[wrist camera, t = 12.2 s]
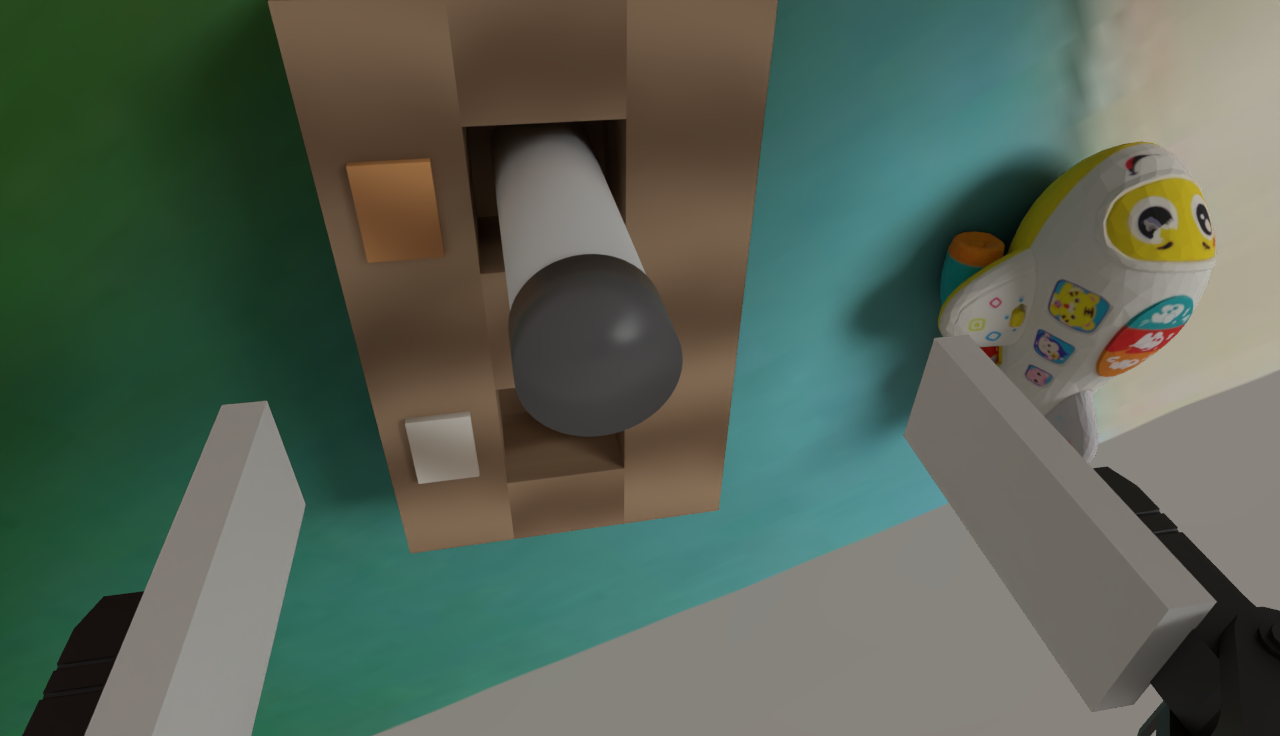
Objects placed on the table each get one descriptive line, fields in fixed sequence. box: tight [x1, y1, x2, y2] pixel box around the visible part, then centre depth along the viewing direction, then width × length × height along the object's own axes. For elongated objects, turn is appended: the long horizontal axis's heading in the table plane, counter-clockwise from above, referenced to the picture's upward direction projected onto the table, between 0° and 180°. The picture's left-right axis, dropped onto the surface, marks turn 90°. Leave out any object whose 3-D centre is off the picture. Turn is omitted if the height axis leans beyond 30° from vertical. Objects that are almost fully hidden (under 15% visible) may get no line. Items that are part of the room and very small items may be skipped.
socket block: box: [268, 0, 778, 554], centre depth 29 cm, size 22×14×6 cm, turn 179°
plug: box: [490, 121, 683, 437], centre depth 22 cm, size 4×4×14 cm
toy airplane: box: [938, 142, 1217, 464], centre depth 34 cm, size 13×9×15 cm
